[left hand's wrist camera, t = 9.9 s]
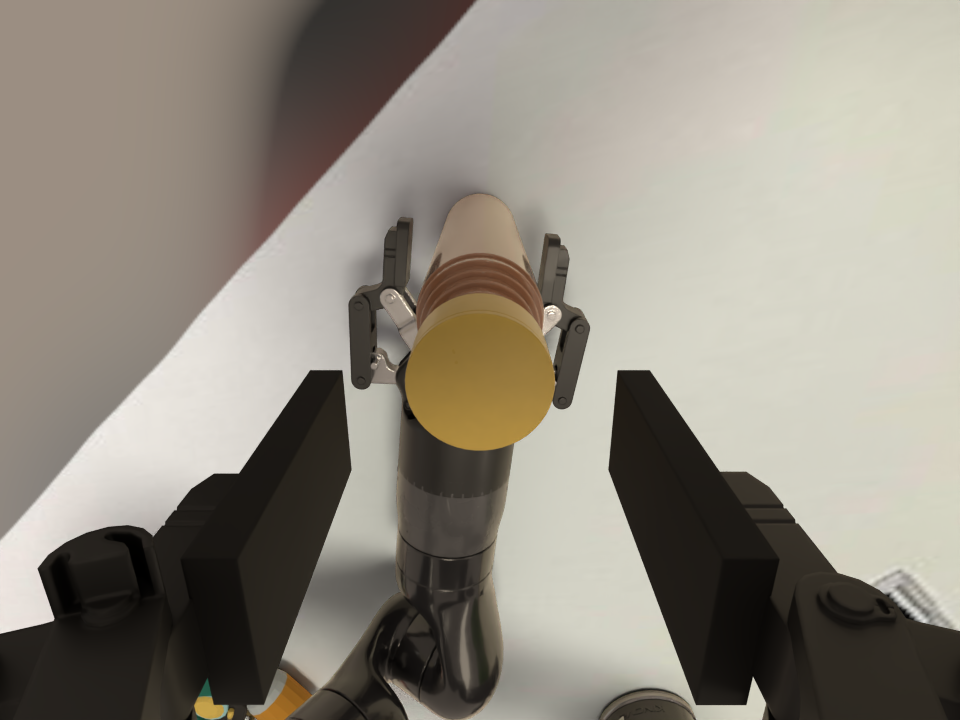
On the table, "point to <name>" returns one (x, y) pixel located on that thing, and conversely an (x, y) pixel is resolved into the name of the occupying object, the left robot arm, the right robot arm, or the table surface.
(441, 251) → the bottle
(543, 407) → the cap
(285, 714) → the spray gun
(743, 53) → the table surface
